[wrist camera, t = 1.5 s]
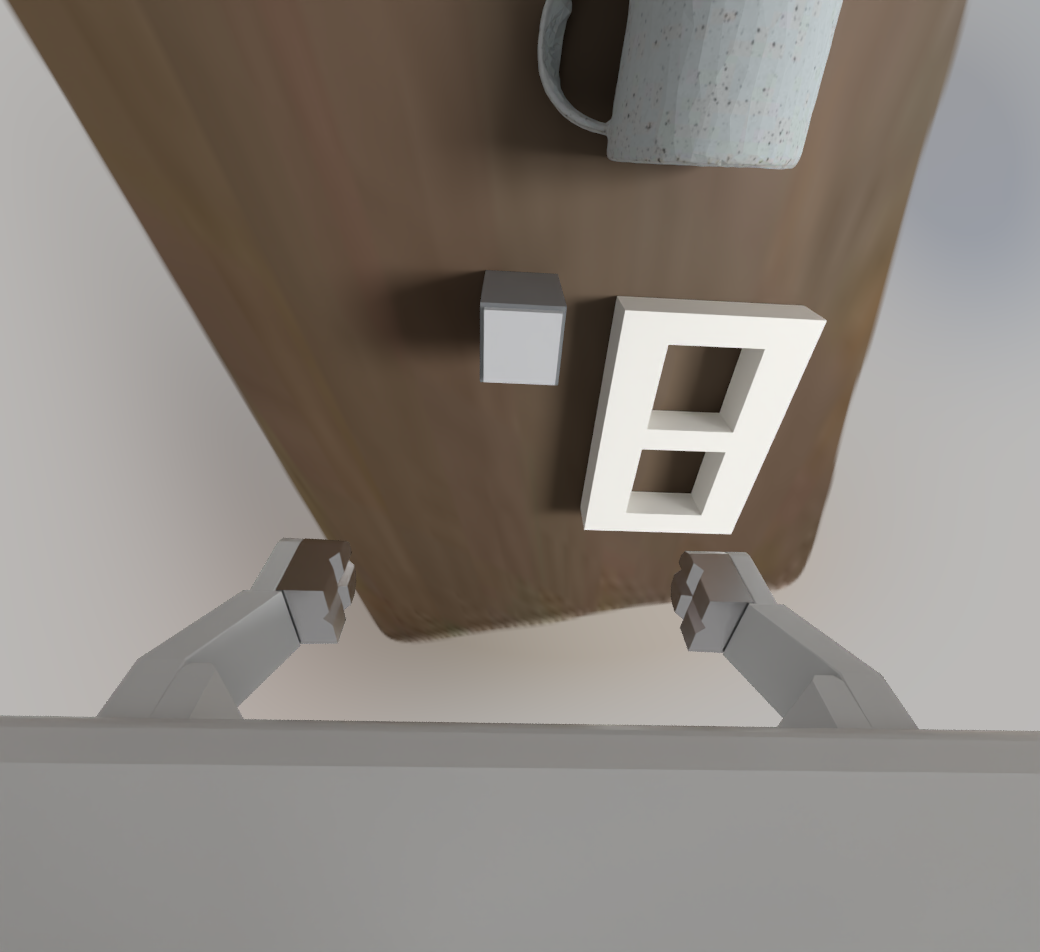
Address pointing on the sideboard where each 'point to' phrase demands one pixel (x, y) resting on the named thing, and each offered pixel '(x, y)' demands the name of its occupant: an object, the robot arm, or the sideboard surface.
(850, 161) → the sideboard surface
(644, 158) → the ceramic mug
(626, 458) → the outlet plate
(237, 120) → the sideboard surface
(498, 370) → the plug
